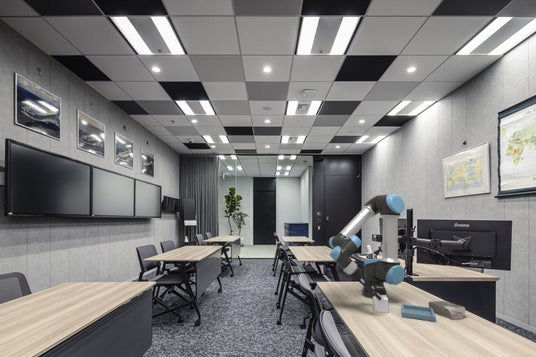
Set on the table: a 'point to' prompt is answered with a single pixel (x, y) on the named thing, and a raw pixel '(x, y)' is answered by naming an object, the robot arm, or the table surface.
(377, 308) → the medicine bottle
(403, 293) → the table surface
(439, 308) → the geological specimen
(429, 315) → the tray
